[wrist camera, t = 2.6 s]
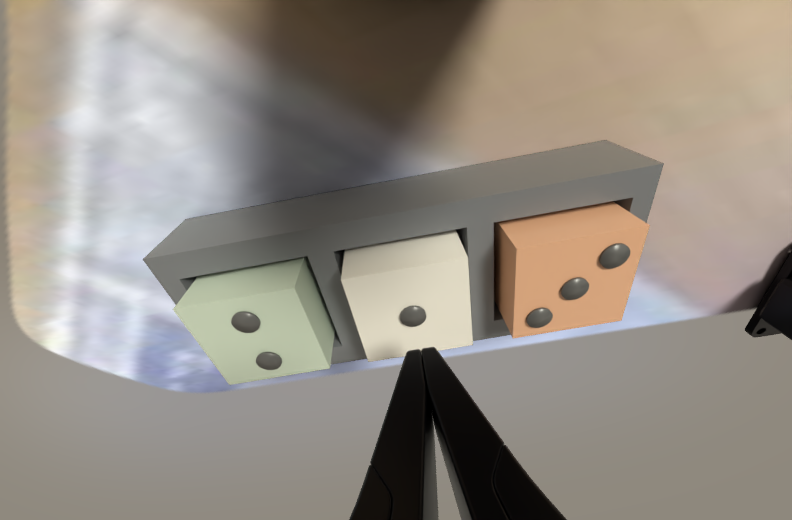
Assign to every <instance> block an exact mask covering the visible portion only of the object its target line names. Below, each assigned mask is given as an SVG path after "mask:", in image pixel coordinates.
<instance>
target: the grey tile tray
mask: <svg viewBox="0 0 792 520" xmlns="http://www.w3.org/2000/svg"><path fill="white" fill-rule="evenodd" d="M663 164H664V163H661V162H659V161H656V160H654V159H651V158H649V157H646V156H644V155H641V154H639V153H636V152H634V151H632V150H629V149H627V148H624V147H622V146H619V145H617V144H614V143H612V142H609V141H607V140H604V141H598V142H593V143H588V144H582V145H577V146H572V147H566V148H561V149H556V150H550V151H545V152H540V153H534V154H529V155H524V156H519V157H513V158H508V159H503V160H497V161H492V162H487V163H481V164H476V165H471V166H465V167H460V168H455V169H449V170H444V171H439V172H434V173H428V174H423V175H418V176H412V177H407V178H402V179H396V180H391V181H386V182H380V183H375V184H370V185H364V186H359V187H354V188H349V189H343V190H338V191H333V192H327V193H322V194H317V195H311V196H306V197H301V198H295V199H290V200H285V201H279V202H274V203H269V204H264V205H258V206H253V207H248V208H242V209H237V210H232V211H226V212H221V213H216V214H210V215H205V216H200V217H194V218H189V219H185V220H184V221H183V222H182V223H181V224H180V225H179V226H178V227H177V228H176V229H175V230H174V231H173V232H171V233H170V234H169V235H168V236H167V237H166V238H165V239H164V240H163V241H162V242H161V243H160V244H159V245H158V246H156V247H155V248H154V249H153V250H152V251H151V252H150V253H149V254H148V255H147V256H146V257H145V258H144V259H143V260H144V262H145V263H146V264H147V266H148V267H149V269H150V270H151V271H152V273H153V274H154V275H155V277H156V278H157V279H158V281H159V282H160V284H161V285H162V286H163V288H164V289H165V290H166V292H167V293H168V295H169V296H170V297H171V299H172V300H173V301H174V303H175V304H176V305H177V303H178V302H179V301H180V299H181V298H182V297H183V295H184V294H185V293H186V291H187V290H188V289H189V287H190V286H191V285H192V283H193V282H194V281H195V279H196V278H197V277H198V276H200V275H206V274H211V273H217V272H222V271H228V270H233V269H239V268H244V267H250V266H256V265H261V264H267V263H272V262H278V261H283V260H289V259H294V258H300V257H305V256H308V259H309V262H310V264H311V267H312V269H313V272H314V274H315V277H316V280H317V282H318V285H319V287H320V290H321V293H322V295H323V298H324V300H325V303H326V305H327V308H328V311H329V313H330V316H331V318H332V321H333V323H334V326H335V334H334V342H333V349H332V357H331V364H336V363H342V362H349V361H355V360H361V359H367V356H366V353H365V350H364V347H363V344H362V341H361V338H360V335H359V332H358V329H357V326H356V323H355V320H354V317H353V314H352V311H351V308H350V305H349V302H348V299H347V296H346V293H345V290H344V287H343V284H342V282H341V275H342V268H343V260H344V253H345V249H350V248H355V247H361V246H367V245H372V244H378V243H383V242H389V241H394V240H400V239H405V238H411V237H416V236H422V235H428V234H433V233H439V232H444V231H450V230H456V232H457V234H458V236H459V239H460V241H461V243H462V245H463V248H464V250H465V252H466V254H467V256H468V267H469V284H470V302H471V320H472V337H473V341H476V340H482V339H488V338H494V337H500V336H506V335H511V333H510V331H509V329H508V327H507V325H506V323H505V321H504V319H503V317H502V315H501V313H500V311H499V308H498V306H497V304H496V302H495V300H494V222H500V221H505V220H511V219H516V218H522V217H527V216H533V215H539V214H544V213H550V212H555V211H561V210H566V209H572V208H577V207H583V206H588V205H594V204H600V203H605V202H611V201H613V202H615V203H616V204H618V205H619V206H621V207H622V208H624V209H625V210H627V211H628V212H630V213H632V214H633V215H635V216H636V217H638V218H639V219H641V220H642V221H644V222H645V223H647V219H648V216H649V212H650V209H651V206H652V202H653V199H654V195H655V192H656V188H657V185H658V181H659V178H660V175H661V171H662V168H663Z"/></svg>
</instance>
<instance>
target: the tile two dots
mask: <svg viewBox="0 0 792 520" xmlns="http://www.w3.org/2000/svg"><path fill="white" fill-rule="evenodd" d="M173 310H174V311H175V313H176V314H177V315H178V317H179V318H180V319H181V321H182V322H183V323H184V325H185V326H186V328H187V329H188V330H189V332H190V333H191V334H192V336H193V337H194V338H195V340H196V341H197V342H198V344H199V345H200V346H201V348H202V349H203V350H204V352H205V353H206V354H207V356H208V357H209V358H210V360H211V361H212V362H213V364H214V365H215V366H216V368H217V369H218V370H219V372H220V373H221V374H222V376H223V377H224V378H225V380H226V381H227V382H228V384H229V385H233V384H239V383H245V382H251V381H257V380H263V379H269V378H275V377H281V376H287V375H293V374H299V373H305V372H311V371H318V370H324V369H330V365H331V357H332V349H333V342H334V334H335V326H334V323H333V321H332V318H331V316H330V313H329V311H328V308H327V305H326V303H325V300H324V298H323V295H322V293H321V290H320V287H319V285H318V282H317V280H316V277H315V274H314V272H313V269H312V267H311V264H310V262H309V259H308V256H305V257H300V258H294V259H289V260H283V261H278V262H272V263H267V264H261V265H256V266H250V267H244V268H239V269H233V270H228V271H222V272H217V273H211V274H206V275H200V276H198V277H197V278H196V279H195V281H194V282H193V283H192V285H191V286H190V287H189V289H188V290H187V291H186V293H185V294H184V295H183V297H182V298H181V299H180V301H179V302H178V303H177V305H176V306H175V307H174V309H173Z"/></svg>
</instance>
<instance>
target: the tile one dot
mask: <svg viewBox="0 0 792 520" xmlns="http://www.w3.org/2000/svg"><path fill="white" fill-rule="evenodd" d="M341 282H342V284H343V287H344V290H345V293H346V296H347V299H348V302H349V305H350V308H351V311H352V314H353V317H354V320H355V323H356V326H357V329H358V332H359V335H360V338H361V341H362V344H363V347H364V350H365V353H366V356H367V359H368V362H372V361H378V360H384V359H390V358H396V357H403V356H405V355H406V353H407V351H409V350H416V349H420V350H422V349H423V348H428V347H435V348H436V349H437V351H439V350H445V349H451V348H457V347H463V346H469V345H473V337H472V320H471V302H470V284H469V267H468V256H467V254H466V252H465V250H464V248H463V245H462V243H461V241H460V239H459V236H458V234H457V232H456V230H450V231H444V232H439V233H433V234H428V235H422V236H416V237H411V238H405V239H400V240H394V241H389V242H383V243H378V244H372V245H367V246H361V247H355V248H350V249H345V253H344V260H343V268H342V275H341Z"/></svg>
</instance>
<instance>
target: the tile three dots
mask: <svg viewBox="0 0 792 520" xmlns="http://www.w3.org/2000/svg"><path fill="white" fill-rule="evenodd" d="M649 226H650V225H649V224H647V223H645V222H644V221H642V220H641V219H639V218H638V217H636V216H635V215H633V214H632V213H630V212H628V211H627V210H625V209H624V208H622V207H621V206H619V205H618V204H616V203H615V202H613V201H611V202H605V203H600V204H594V205H588V206H583V207H577V208H572V209H566V210H561V211H555V212H550V213H544V214H539V215H533V216H527V217H522V218H516V219H511V220H505V221H500V222H494V300H495V302H496V304H497V306H498V308H499V311H500V313H501V315H502V317H503V319H504V321H505V323H506V325H507V327H508V329H509V331H510V333H511V336H512V338H518V337H524V336H530V335H536V334H542V333H548V332H554V331H560V330H566V329H572V328H579V327H585V326H591V325H597V324H603V323H609V322H615V321H621V320H622V317H623V313H624V310H625V307H626V303H627V300H628V297H629V293H630V290H631V287H632V283H633V280H634V277H635V273H636V270H637V267H638V263H639V260H640V256H641V253H642V250H643V246H644V243H645V240H646V236H647V233H648V230H649Z"/></svg>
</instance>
